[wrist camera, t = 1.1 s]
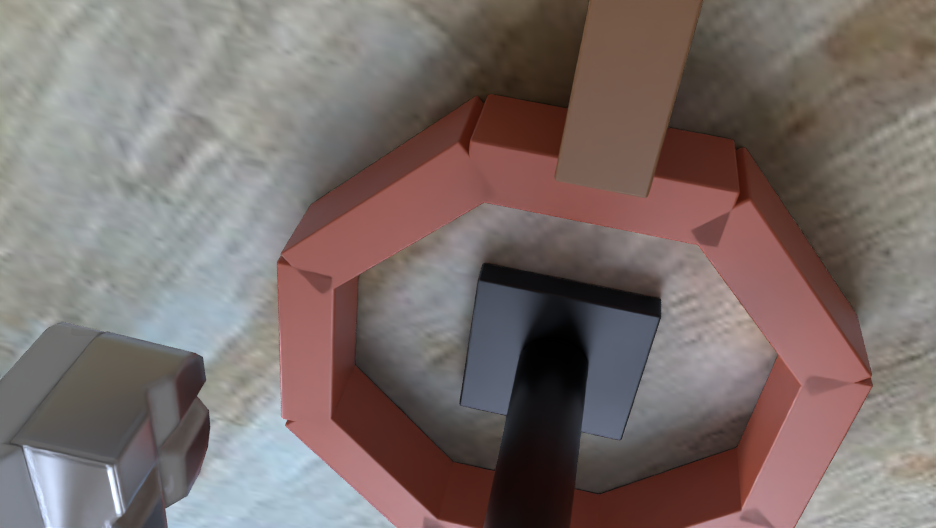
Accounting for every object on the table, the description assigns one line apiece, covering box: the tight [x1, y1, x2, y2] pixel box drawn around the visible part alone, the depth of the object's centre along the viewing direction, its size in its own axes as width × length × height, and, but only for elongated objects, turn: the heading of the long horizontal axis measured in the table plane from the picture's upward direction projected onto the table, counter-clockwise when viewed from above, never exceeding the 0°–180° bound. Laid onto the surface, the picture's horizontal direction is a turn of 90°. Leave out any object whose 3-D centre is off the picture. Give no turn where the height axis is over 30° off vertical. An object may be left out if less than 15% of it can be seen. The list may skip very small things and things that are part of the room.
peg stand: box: [459, 263, 661, 528], centre depth 22 cm, size 5×5×10 cm
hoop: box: [277, 0, 873, 528], centre depth 23 cm, size 21×15×4 cm
